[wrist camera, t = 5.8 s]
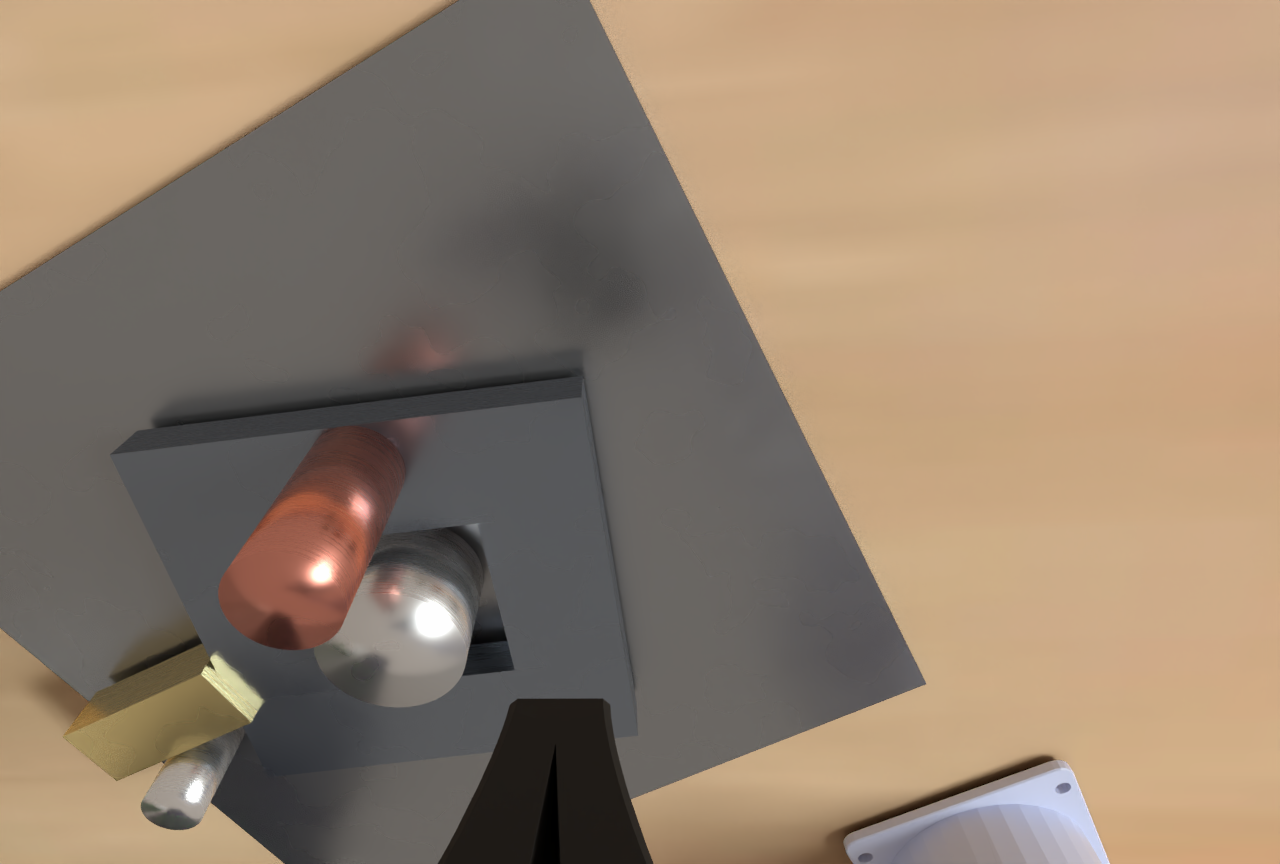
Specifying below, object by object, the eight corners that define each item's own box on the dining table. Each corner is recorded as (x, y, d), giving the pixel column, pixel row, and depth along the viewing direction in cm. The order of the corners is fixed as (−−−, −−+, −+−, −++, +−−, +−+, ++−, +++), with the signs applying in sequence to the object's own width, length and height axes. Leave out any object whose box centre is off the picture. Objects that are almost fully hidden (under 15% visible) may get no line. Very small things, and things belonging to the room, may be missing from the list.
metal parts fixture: (583, 375, 19) (573, 516, 14) (636, 703, 24) (645, 900, 19) (-47, 453, 19) (-298, 620, 14) (137, 760, 24) (4, 969, 19)
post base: (922, 676, 25) (965, 765, 22) (345, 903, 29) (315, 1003, 26) (559, -62, 15) (547, -80, 12) (-219, 431, 19) (-365, 504, 16)
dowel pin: (255, 735, 24) (215, 817, 22) (214, 754, 25) (170, 837, 22) (219, 702, 24) (173, 783, 21) (177, 722, 24) (127, 803, 21)
